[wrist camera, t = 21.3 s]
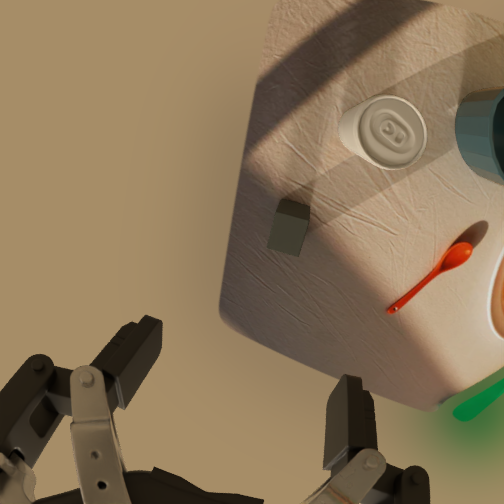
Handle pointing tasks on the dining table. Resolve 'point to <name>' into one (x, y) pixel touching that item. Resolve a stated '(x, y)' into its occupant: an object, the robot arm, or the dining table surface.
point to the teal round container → (482, 132)
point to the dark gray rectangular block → (289, 227)
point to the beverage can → (385, 131)
